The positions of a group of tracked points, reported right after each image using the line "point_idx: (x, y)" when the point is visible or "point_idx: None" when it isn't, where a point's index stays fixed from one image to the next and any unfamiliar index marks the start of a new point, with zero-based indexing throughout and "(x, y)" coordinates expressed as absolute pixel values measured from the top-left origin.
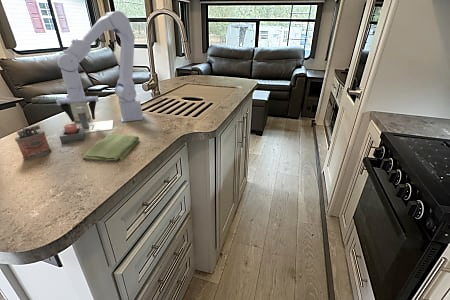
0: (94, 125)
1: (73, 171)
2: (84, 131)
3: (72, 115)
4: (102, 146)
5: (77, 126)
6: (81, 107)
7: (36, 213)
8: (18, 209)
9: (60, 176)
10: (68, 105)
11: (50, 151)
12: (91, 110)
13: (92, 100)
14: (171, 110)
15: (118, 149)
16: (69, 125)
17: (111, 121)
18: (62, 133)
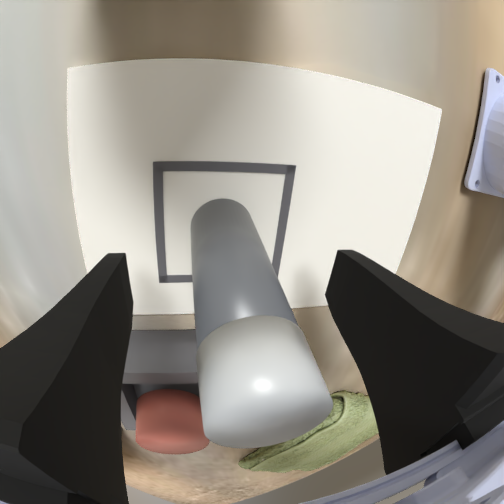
0: (297, 178)
1: (221, 474)
2: None
3: (112, 318)
4: (296, 461)
5: (132, 142)
6: (293, 417)
7: (194, 498)
8: (169, 496)
9: (200, 479)
10: (104, 496)
11: (121, 432)
12: (377, 392)
13: (479, 447)
14: None
15: (327, 460)
16: (166, 439)
17: (427, 139)
18: (124, 411)
